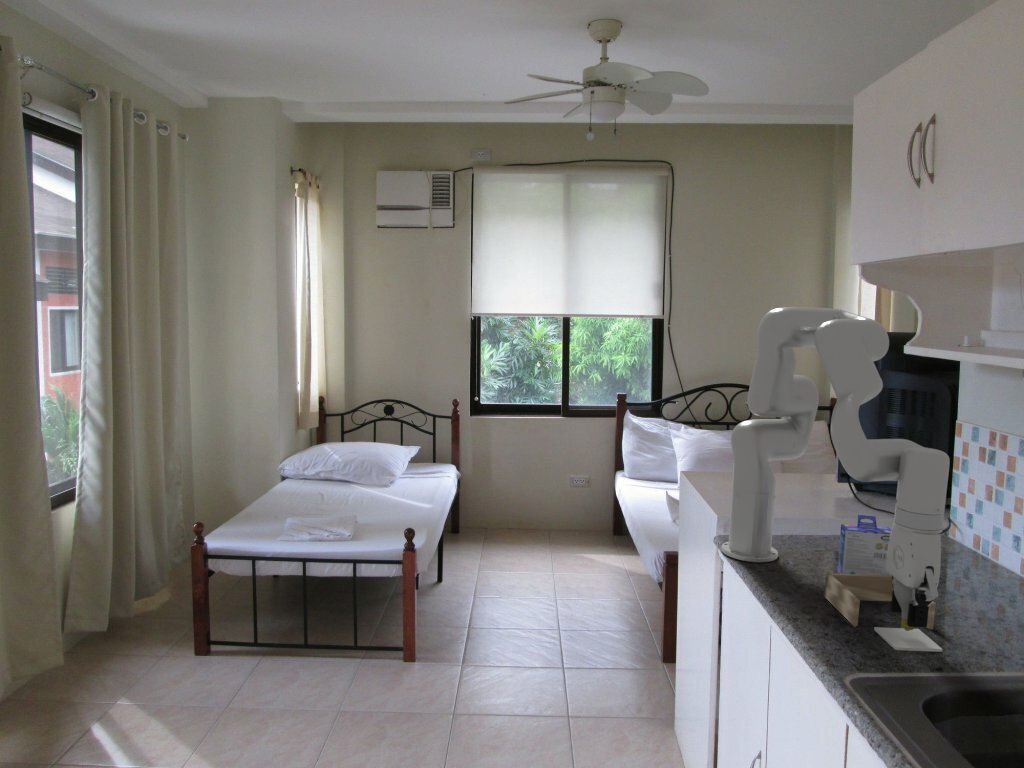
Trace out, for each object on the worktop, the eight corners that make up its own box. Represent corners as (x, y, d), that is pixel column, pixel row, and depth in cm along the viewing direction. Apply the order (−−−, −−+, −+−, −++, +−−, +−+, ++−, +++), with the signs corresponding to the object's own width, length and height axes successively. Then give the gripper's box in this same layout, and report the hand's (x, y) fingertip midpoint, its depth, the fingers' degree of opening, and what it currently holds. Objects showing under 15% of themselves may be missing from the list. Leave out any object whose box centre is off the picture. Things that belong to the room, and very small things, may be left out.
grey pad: (874, 629, 141) (874, 627, 141) (918, 631, 141) (918, 628, 141) (895, 650, 133) (895, 647, 133) (942, 651, 133) (942, 649, 133)
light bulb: (909, 639, 134) (915, 583, 132) (883, 626, 138) (888, 572, 137) (931, 634, 136) (937, 579, 134) (904, 621, 141) (910, 568, 139)
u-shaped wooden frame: (824, 597, 156) (826, 573, 155) (897, 600, 156) (899, 576, 155) (853, 626, 142) (855, 600, 142) (933, 629, 142) (935, 603, 142)
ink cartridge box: (884, 582, 166) (890, 516, 164) (891, 591, 160) (898, 523, 158) (835, 577, 168) (840, 512, 166) (840, 586, 162) (846, 519, 160)
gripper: (874, 504, 143) (865, 599, 145) (922, 533, 126) (911, 640, 128) (915, 506, 143) (905, 600, 145) (968, 535, 126) (956, 642, 128)
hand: (908, 618), depth 137 cm, fingers closed on light bulb, 5 cm apart
